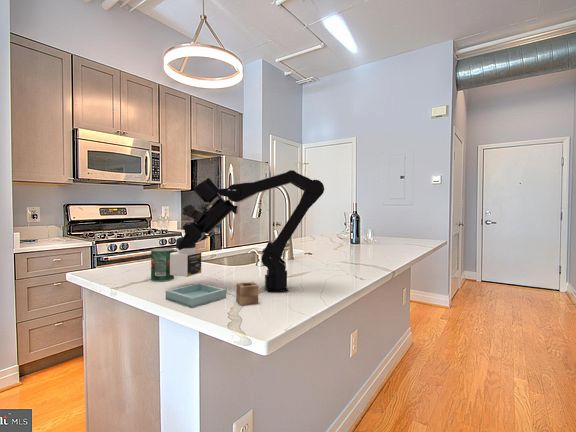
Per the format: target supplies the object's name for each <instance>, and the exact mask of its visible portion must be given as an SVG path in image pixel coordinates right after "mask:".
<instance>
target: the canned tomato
mask: <svg viewBox="0 0 576 432" xmlns="http://www.w3.org/2000/svg"><path fill="white" fill-rule="evenodd" d="M173 252H175V248H173V247H172V248H171V247H160V248H157V247H156V248H152V249H150V253H151V254H150V255H151V256H150V281H152V282H154V283H155V282H157V283H161V282H170V281H174V279H175V276H174V275H170V253H173Z"/></svg>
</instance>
